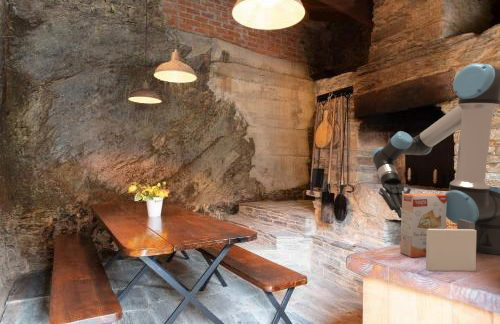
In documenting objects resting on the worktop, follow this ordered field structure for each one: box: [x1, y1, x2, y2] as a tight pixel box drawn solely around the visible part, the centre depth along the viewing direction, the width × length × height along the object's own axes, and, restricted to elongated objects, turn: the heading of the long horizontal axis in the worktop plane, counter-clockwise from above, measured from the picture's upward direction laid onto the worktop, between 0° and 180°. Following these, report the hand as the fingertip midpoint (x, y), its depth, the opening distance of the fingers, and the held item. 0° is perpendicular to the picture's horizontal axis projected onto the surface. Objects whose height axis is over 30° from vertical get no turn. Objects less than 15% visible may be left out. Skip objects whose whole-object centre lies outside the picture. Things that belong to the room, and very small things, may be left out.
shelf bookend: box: [425, 219, 477, 272], centre depth 104 cm, size 14×8×14 cm, turn 91°
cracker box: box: [399, 192, 447, 258], centre depth 117 cm, size 14×6×21 cm, turn 105°
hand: (407, 224), depth 128 cm, fingers closed
